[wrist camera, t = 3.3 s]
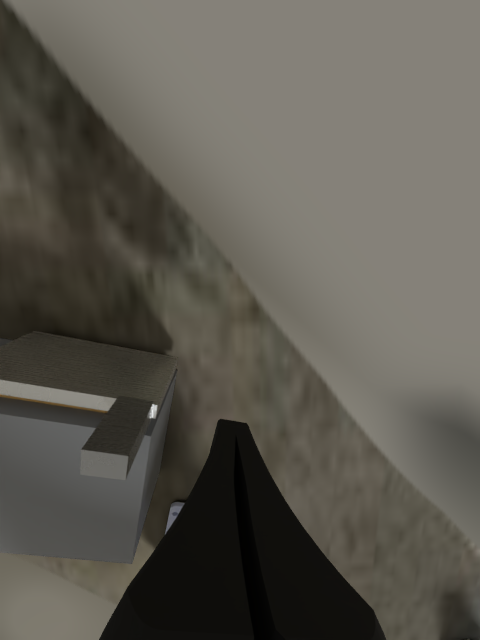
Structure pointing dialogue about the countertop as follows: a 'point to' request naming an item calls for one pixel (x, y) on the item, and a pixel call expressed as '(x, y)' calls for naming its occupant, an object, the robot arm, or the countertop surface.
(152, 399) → the side door
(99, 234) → the countertop surface
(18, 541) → the camera housing
